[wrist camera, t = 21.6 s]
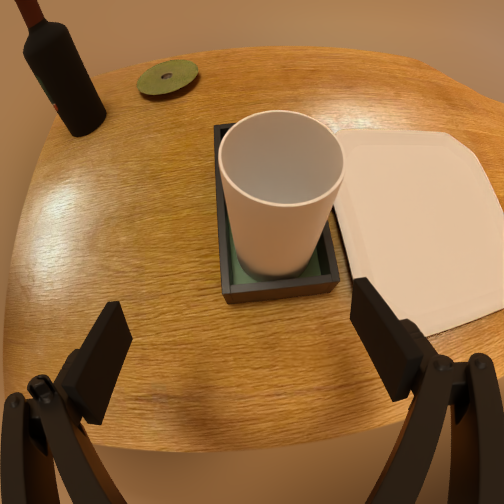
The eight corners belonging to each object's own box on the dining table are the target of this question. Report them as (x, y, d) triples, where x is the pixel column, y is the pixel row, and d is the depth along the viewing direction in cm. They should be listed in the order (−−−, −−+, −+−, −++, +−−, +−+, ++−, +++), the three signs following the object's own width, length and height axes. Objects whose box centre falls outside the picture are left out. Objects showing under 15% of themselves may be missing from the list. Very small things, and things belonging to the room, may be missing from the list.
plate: (361, 354, 29) (368, 353, 27) (307, 139, 40) (309, 129, 38) (522, 299, 30) (531, 295, 28) (459, 141, 40) (464, 133, 38)
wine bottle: (91, 138, 42) (13, -7, 14) (63, 136, 43) (-11, 10, 15) (114, 107, 45) (56, -32, 17) (86, 107, 46) (26, -17, 18)
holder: (227, 304, 32) (222, 294, 27) (217, 148, 39) (213, 125, 35) (329, 292, 32) (340, 281, 27) (297, 141, 40) (300, 118, 35)
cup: (220, 247, 33) (191, 152, 18) (273, 202, 35) (280, 95, 20) (273, 300, 31) (285, 235, 16) (325, 249, 33) (370, 157, 18)
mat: (204, 64, 48) (202, 56, 46) (193, 99, 44) (191, 90, 42) (149, 70, 48) (146, 63, 47) (131, 105, 44) (128, 97, 42)
